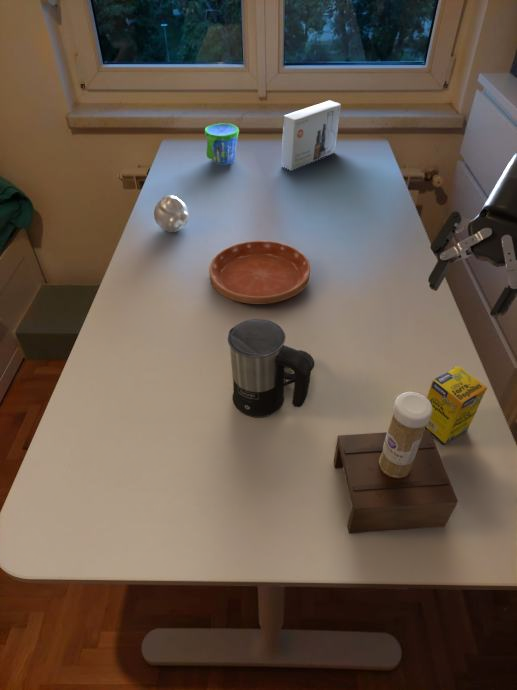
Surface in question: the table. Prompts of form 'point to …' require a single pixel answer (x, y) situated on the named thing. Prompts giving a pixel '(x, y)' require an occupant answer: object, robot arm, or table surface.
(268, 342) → the milk frother
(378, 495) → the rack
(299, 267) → the saucer
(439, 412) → the supplement box
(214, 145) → the snack cup
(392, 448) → the sprinkles bottle
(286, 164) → the skincare box
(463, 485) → the table surface
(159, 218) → the shiny silver ball
